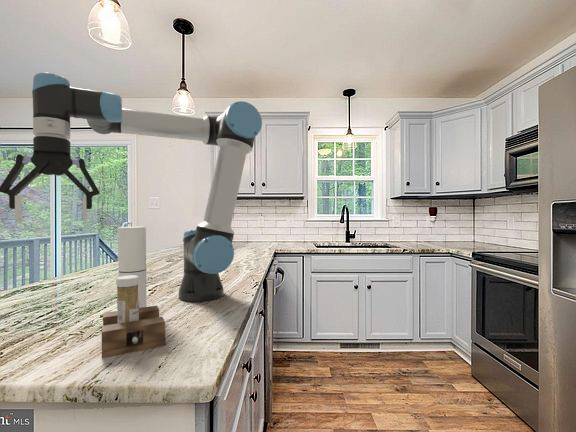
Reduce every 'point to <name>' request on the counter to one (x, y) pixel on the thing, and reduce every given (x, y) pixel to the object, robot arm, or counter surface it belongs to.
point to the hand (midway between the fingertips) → (53, 222)
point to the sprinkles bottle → (127, 299)
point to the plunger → (134, 336)
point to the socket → (116, 332)
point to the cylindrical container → (133, 257)
